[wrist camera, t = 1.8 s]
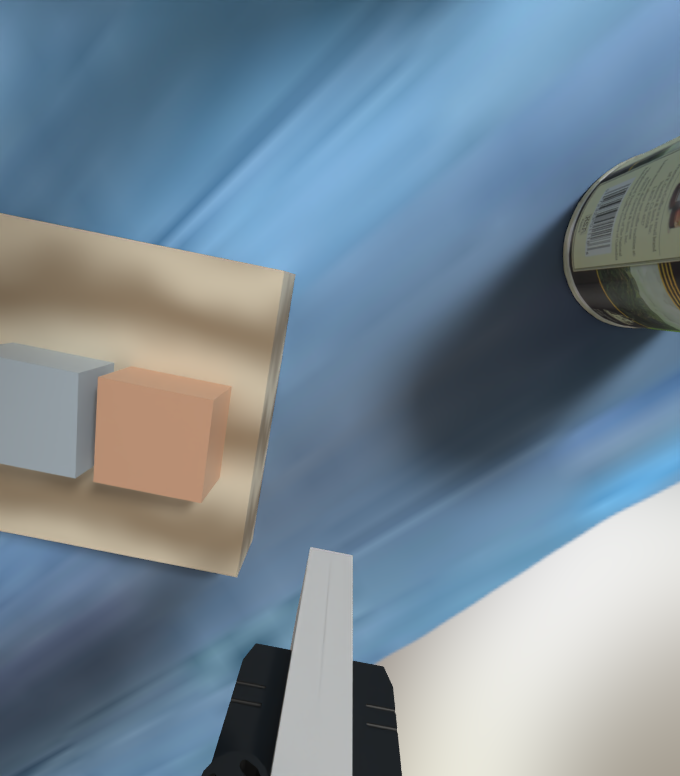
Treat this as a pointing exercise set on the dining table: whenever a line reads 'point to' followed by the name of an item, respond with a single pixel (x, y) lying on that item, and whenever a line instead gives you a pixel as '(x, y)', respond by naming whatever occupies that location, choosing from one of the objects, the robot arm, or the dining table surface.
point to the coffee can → (629, 243)
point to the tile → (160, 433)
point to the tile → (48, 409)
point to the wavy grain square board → (153, 352)
